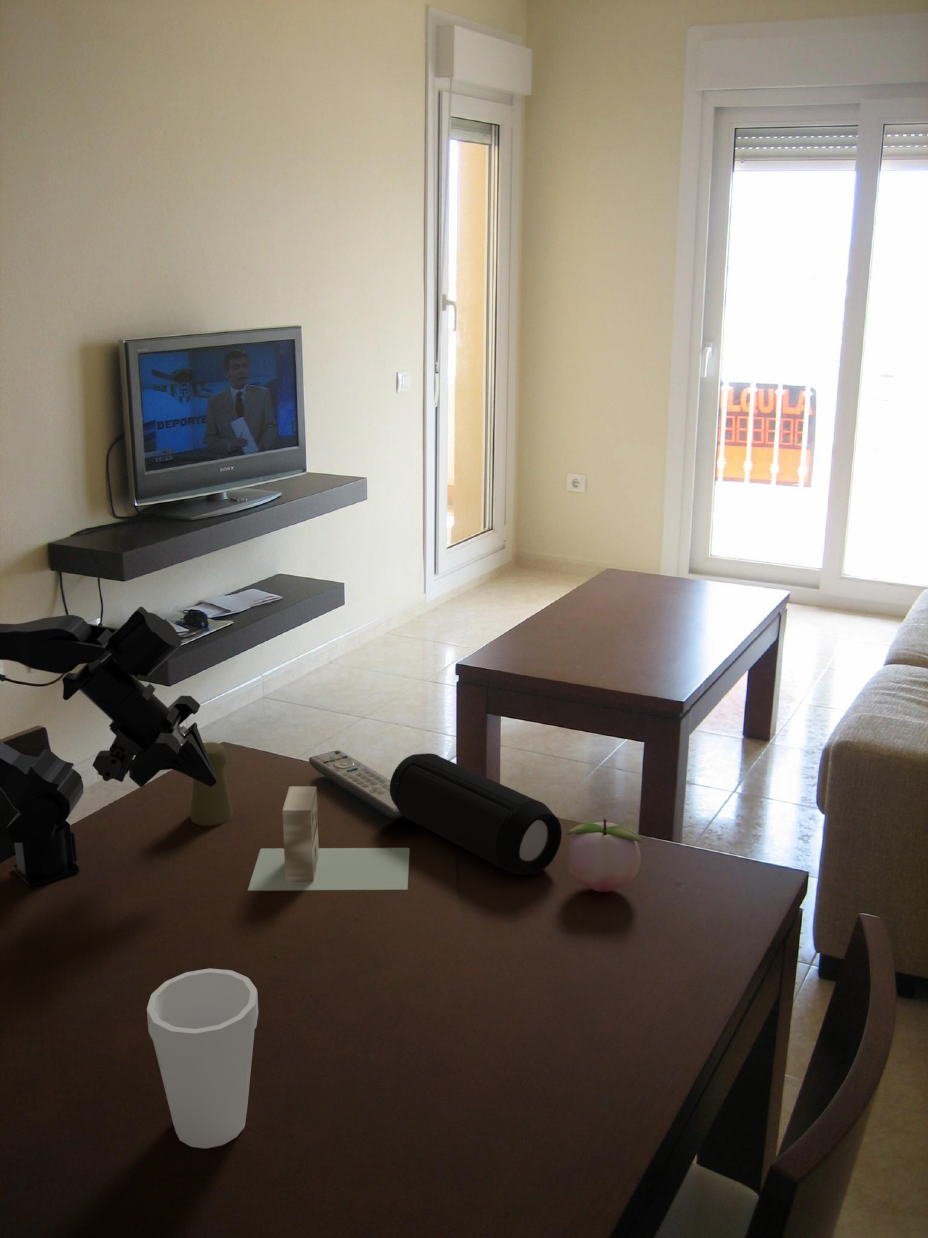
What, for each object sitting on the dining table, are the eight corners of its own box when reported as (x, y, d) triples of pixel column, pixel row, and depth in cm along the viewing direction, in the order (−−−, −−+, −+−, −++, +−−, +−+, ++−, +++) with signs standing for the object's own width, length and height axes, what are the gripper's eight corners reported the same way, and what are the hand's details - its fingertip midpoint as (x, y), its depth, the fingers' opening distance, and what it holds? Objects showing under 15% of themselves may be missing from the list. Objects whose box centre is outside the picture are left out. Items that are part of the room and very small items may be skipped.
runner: (247, 891, 144) (247, 890, 144) (260, 850, 154) (260, 848, 154) (407, 891, 144) (407, 889, 144) (409, 849, 155) (409, 848, 155)
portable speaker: (565, 867, 151) (567, 797, 148) (511, 892, 144) (513, 820, 141) (437, 803, 169) (437, 740, 166) (384, 824, 162) (383, 758, 160)
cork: (223, 828, 160) (219, 755, 157) (183, 824, 161) (177, 752, 158) (240, 810, 166) (236, 739, 163) (200, 806, 167) (196, 735, 164)
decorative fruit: (637, 876, 148) (641, 805, 145) (640, 909, 140) (645, 835, 138) (564, 872, 149) (567, 802, 146) (563, 905, 141) (566, 831, 138)
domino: (285, 882, 146) (282, 810, 143) (292, 855, 152) (289, 786, 150) (313, 882, 146) (310, 810, 143) (318, 855, 152) (316, 786, 150)
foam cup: (167, 1090, 108) (158, 970, 105) (266, 1085, 109) (260, 966, 106) (149, 1164, 99) (138, 1036, 96) (257, 1158, 100) (251, 1031, 97)
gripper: (96, 715, 152) (182, 795, 156) (57, 769, 134) (155, 857, 138) (155, 660, 151) (240, 741, 154) (124, 707, 133) (221, 797, 136)
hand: (214, 783), depth 146 cm, fingers closed
